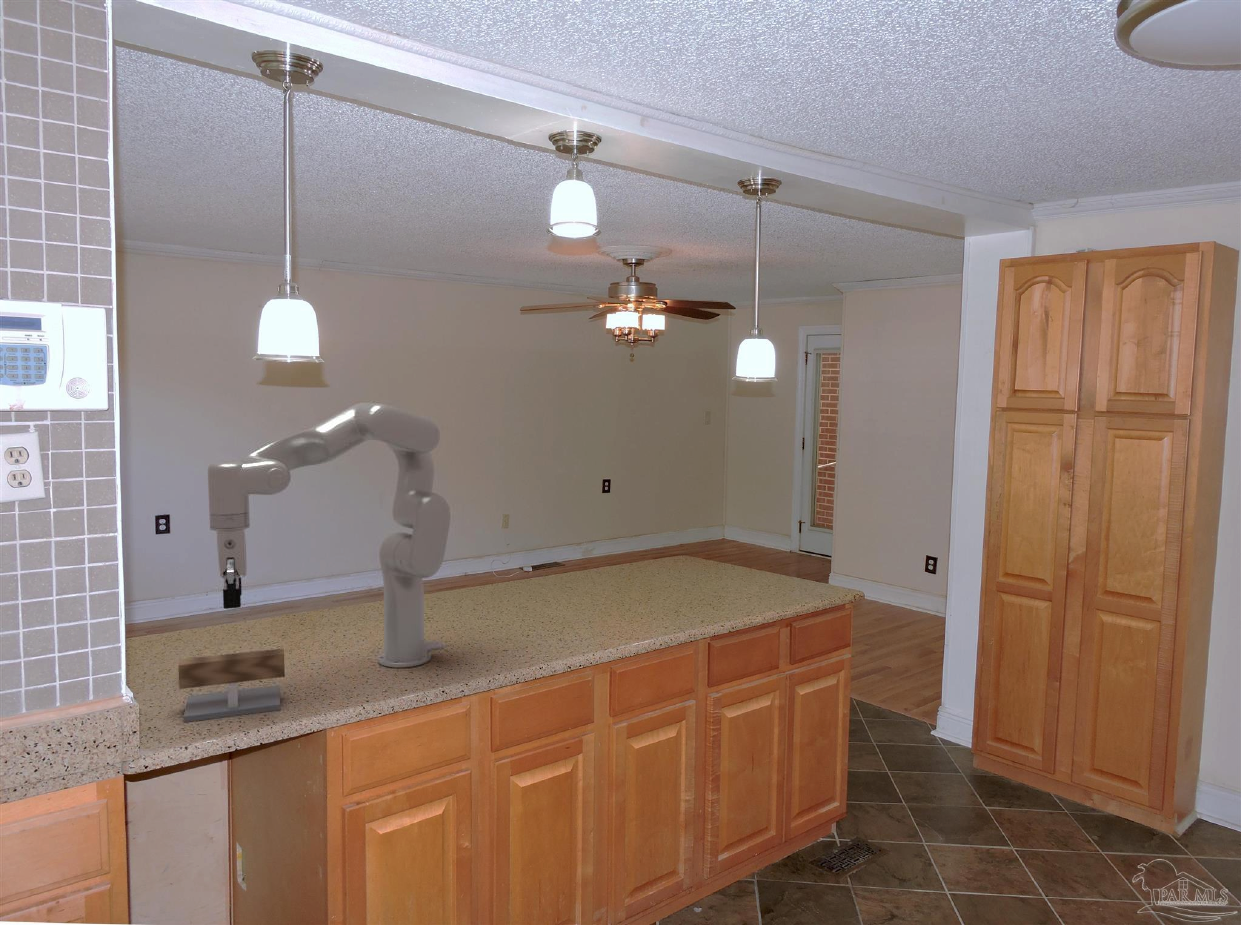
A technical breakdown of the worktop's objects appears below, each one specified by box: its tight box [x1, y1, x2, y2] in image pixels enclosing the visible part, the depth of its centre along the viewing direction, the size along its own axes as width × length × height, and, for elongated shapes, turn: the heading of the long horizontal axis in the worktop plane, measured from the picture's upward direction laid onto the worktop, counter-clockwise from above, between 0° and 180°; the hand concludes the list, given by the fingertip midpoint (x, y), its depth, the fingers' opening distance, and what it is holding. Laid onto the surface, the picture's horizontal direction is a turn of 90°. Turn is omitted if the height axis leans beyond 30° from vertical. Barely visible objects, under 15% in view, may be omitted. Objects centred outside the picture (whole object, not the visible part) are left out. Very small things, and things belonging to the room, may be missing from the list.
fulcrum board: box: [183, 682, 281, 723], centre depth 178 cm, size 18×12×6 cm, turn 113°
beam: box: [178, 648, 286, 690], centre depth 178 cm, size 20×4×5 cm, turn 113°
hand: (232, 601), depth 177 cm, fingers open, 9 cm apart
